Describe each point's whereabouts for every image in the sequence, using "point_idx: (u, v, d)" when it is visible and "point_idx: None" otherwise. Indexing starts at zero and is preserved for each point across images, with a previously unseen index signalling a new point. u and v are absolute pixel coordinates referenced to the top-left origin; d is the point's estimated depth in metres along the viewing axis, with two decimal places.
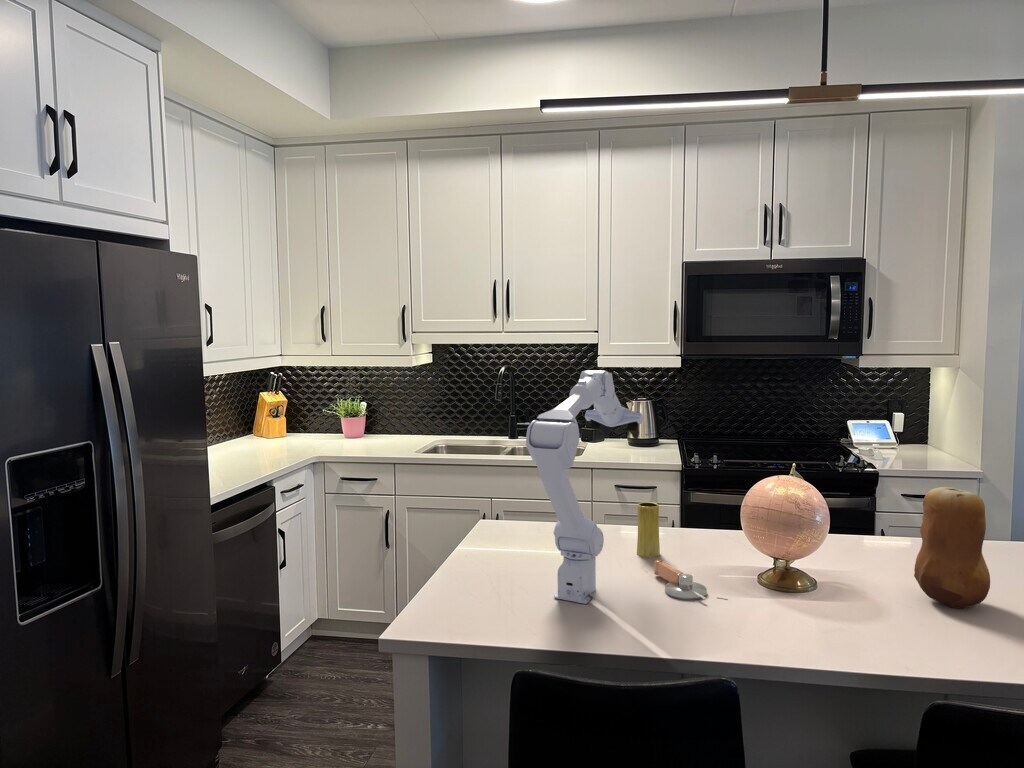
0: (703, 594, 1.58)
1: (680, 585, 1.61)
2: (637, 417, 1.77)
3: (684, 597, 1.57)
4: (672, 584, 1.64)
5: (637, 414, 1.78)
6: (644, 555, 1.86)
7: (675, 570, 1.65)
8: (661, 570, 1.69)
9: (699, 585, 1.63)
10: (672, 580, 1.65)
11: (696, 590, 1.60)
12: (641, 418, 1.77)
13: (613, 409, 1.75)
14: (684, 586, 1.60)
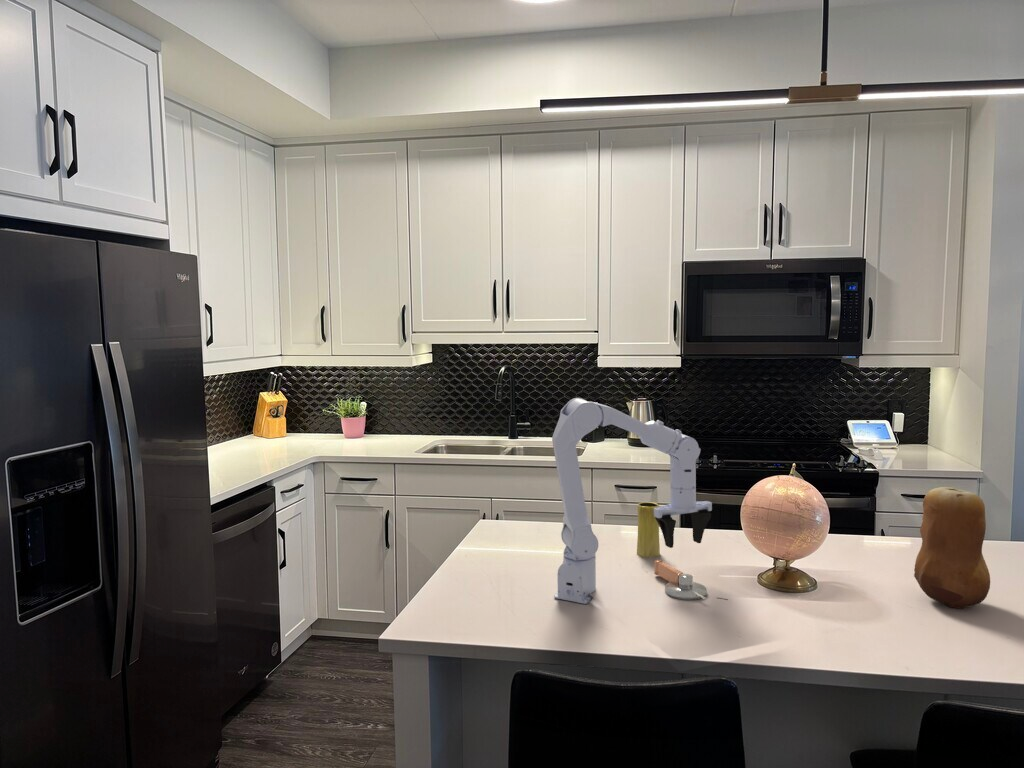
0: (703, 594, 1.58)
1: (680, 585, 1.61)
2: None
3: (684, 597, 1.57)
4: (672, 584, 1.64)
5: None
6: (644, 555, 1.86)
7: (675, 570, 1.65)
8: (661, 570, 1.69)
9: (699, 585, 1.63)
10: (672, 580, 1.65)
11: (696, 590, 1.60)
12: (655, 512, 1.66)
13: (679, 485, 1.65)
14: (684, 586, 1.60)
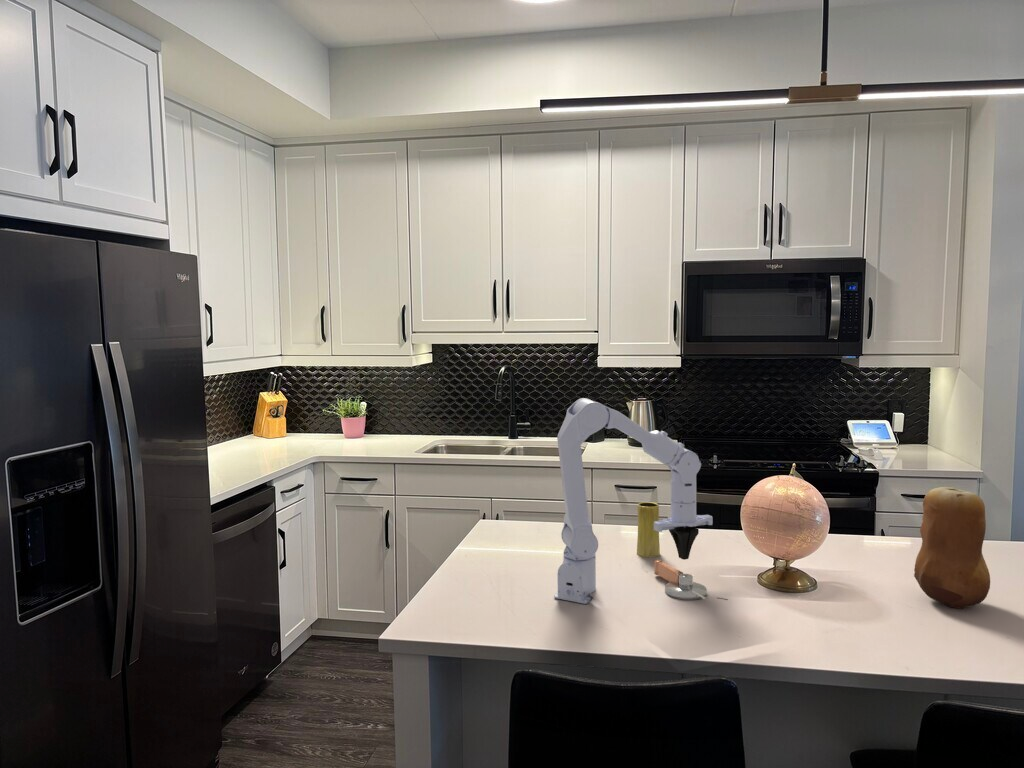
0: (703, 594, 1.58)
1: (680, 585, 1.61)
2: None
3: (684, 597, 1.57)
4: (672, 584, 1.64)
5: None
6: (644, 555, 1.86)
7: (675, 570, 1.65)
8: (661, 570, 1.69)
9: (699, 585, 1.63)
10: (672, 580, 1.65)
11: (696, 590, 1.60)
12: (655, 526, 1.66)
13: (679, 500, 1.65)
14: (684, 586, 1.60)
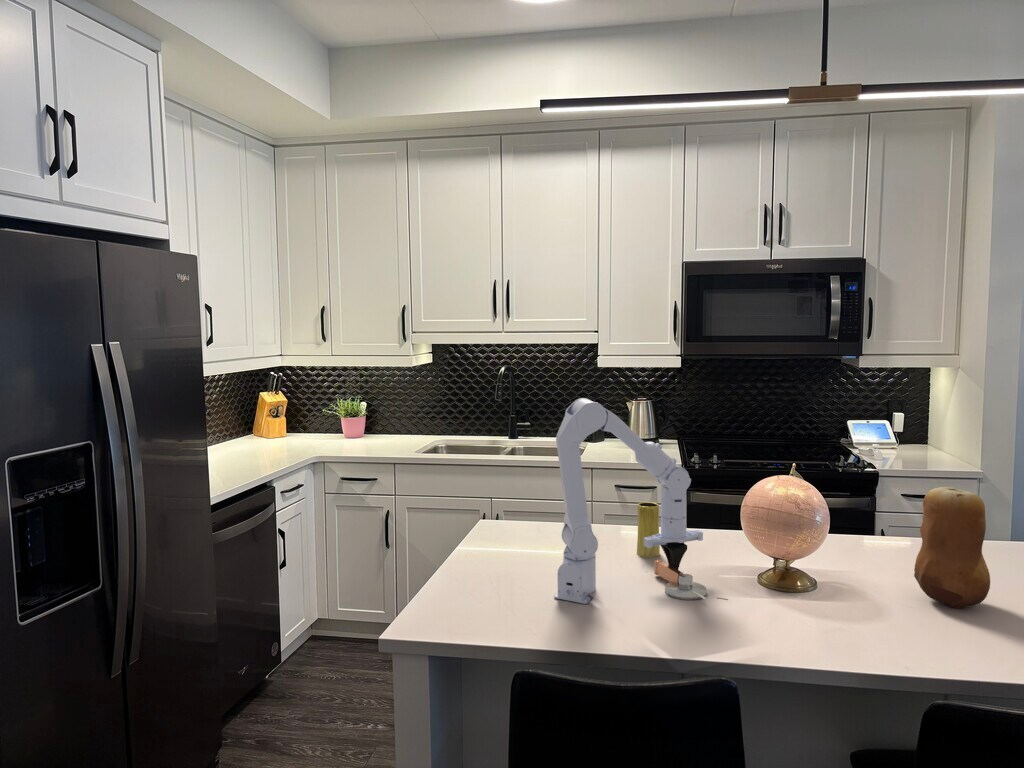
0: (703, 594, 1.58)
1: (680, 585, 1.61)
2: None
3: (684, 597, 1.57)
4: (672, 584, 1.64)
5: None
6: (644, 555, 1.86)
7: (675, 570, 1.65)
8: (661, 570, 1.69)
9: (699, 585, 1.63)
10: (672, 580, 1.65)
11: (696, 590, 1.60)
12: (645, 542, 1.65)
13: (669, 515, 1.65)
14: (684, 586, 1.60)
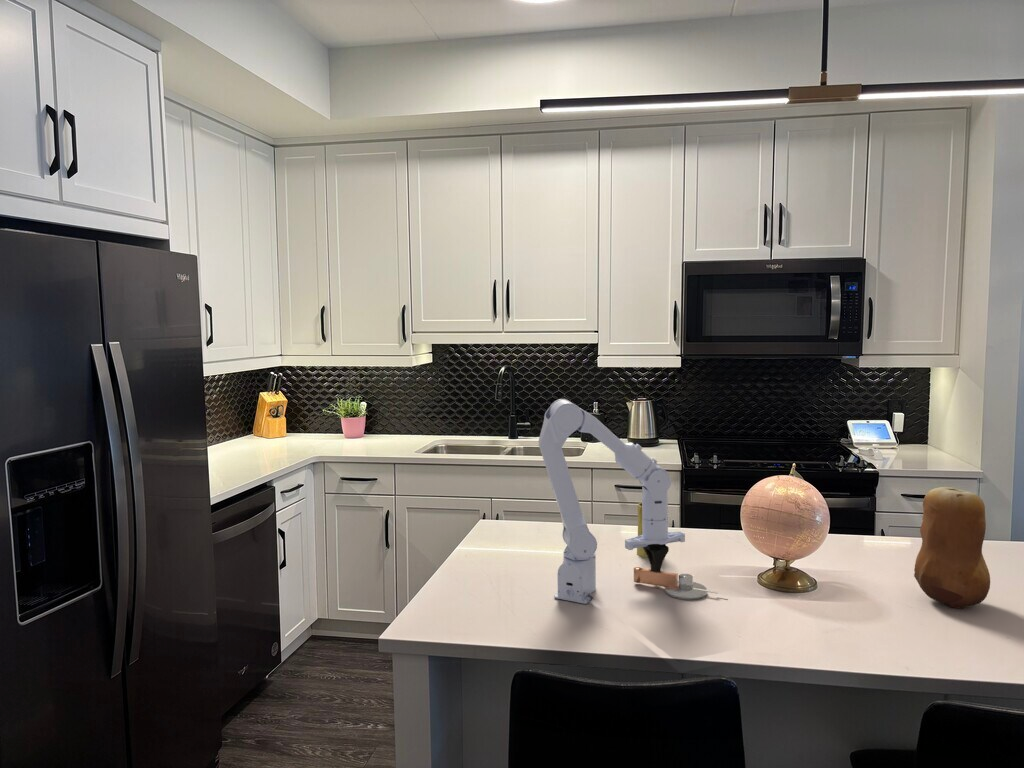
0: None
1: (684, 586, 1.60)
2: None
3: (698, 596, 1.57)
4: (670, 587, 1.62)
5: None
6: (644, 555, 1.86)
7: (667, 572, 1.64)
8: (646, 577, 1.65)
9: None
10: (667, 583, 1.63)
11: (697, 587, 1.62)
12: (626, 544, 1.64)
13: (650, 517, 1.63)
14: (689, 586, 1.60)
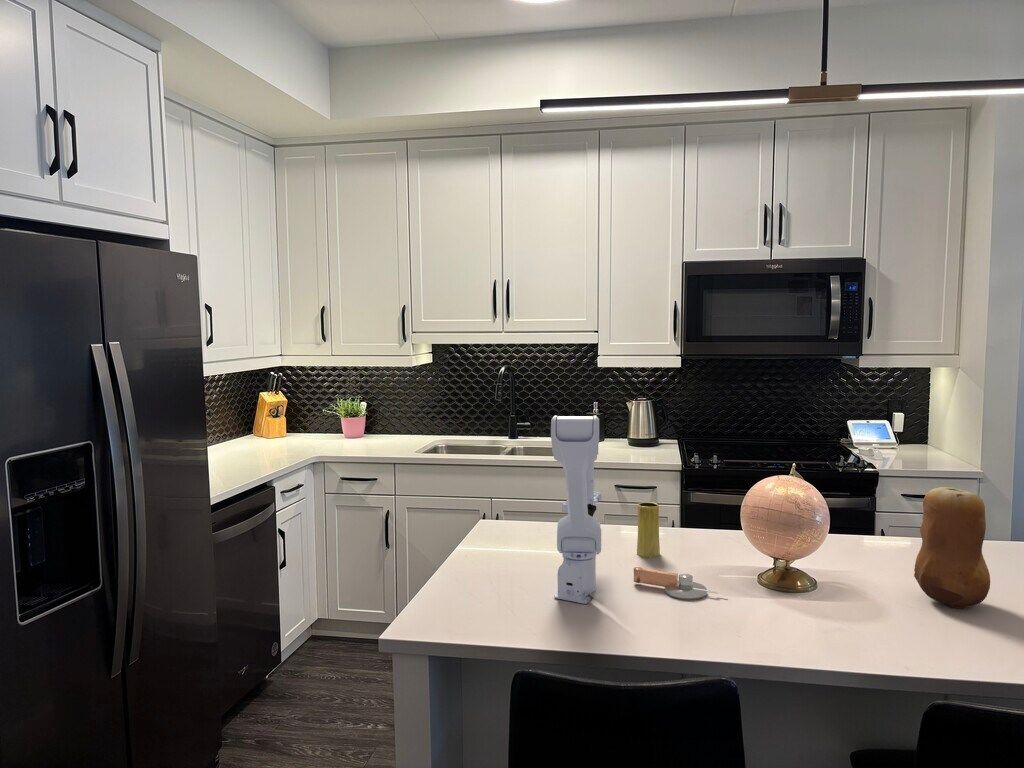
0: None
1: (684, 586, 1.60)
2: None
3: (698, 596, 1.57)
4: (670, 587, 1.62)
5: None
6: (644, 555, 1.86)
7: (667, 572, 1.64)
8: (646, 577, 1.65)
9: None
10: (667, 583, 1.63)
11: (697, 587, 1.62)
12: (565, 507, 1.72)
13: (590, 478, 1.75)
14: (689, 586, 1.60)
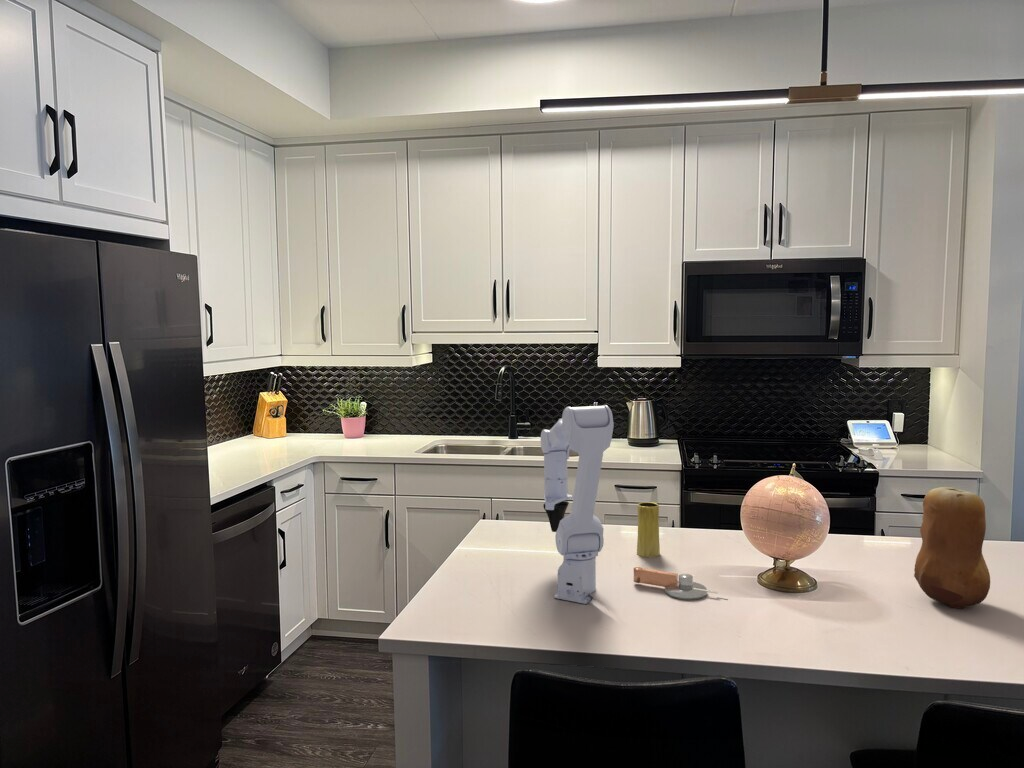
0: None
1: (684, 586, 1.60)
2: (549, 502, 1.75)
3: (698, 596, 1.57)
4: (670, 587, 1.62)
5: None
6: (644, 555, 1.86)
7: (667, 572, 1.64)
8: (646, 577, 1.65)
9: None
10: (667, 583, 1.63)
11: (697, 587, 1.62)
12: (548, 505, 1.74)
13: (566, 475, 1.79)
14: (689, 586, 1.60)
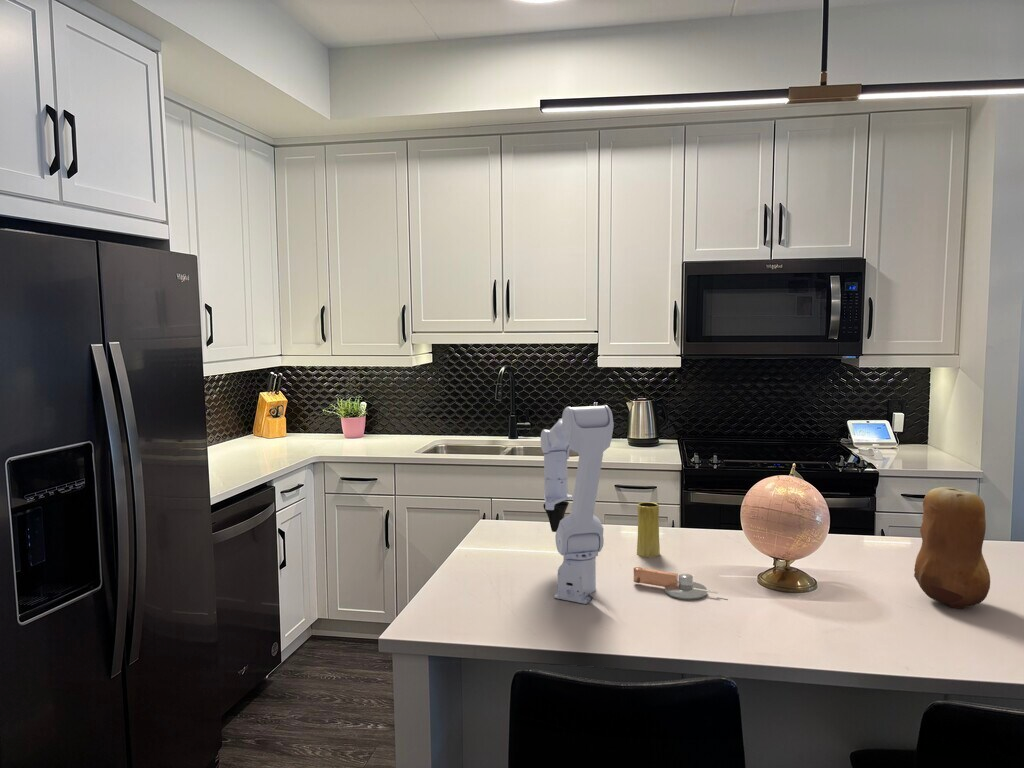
0: None
1: (684, 586, 1.60)
2: (549, 502, 1.75)
3: (698, 596, 1.57)
4: (670, 587, 1.62)
5: None
6: (644, 555, 1.86)
7: (667, 572, 1.64)
8: (646, 577, 1.65)
9: None
10: (667, 583, 1.63)
11: (697, 587, 1.62)
12: (548, 505, 1.74)
13: (566, 475, 1.79)
14: (689, 586, 1.60)
